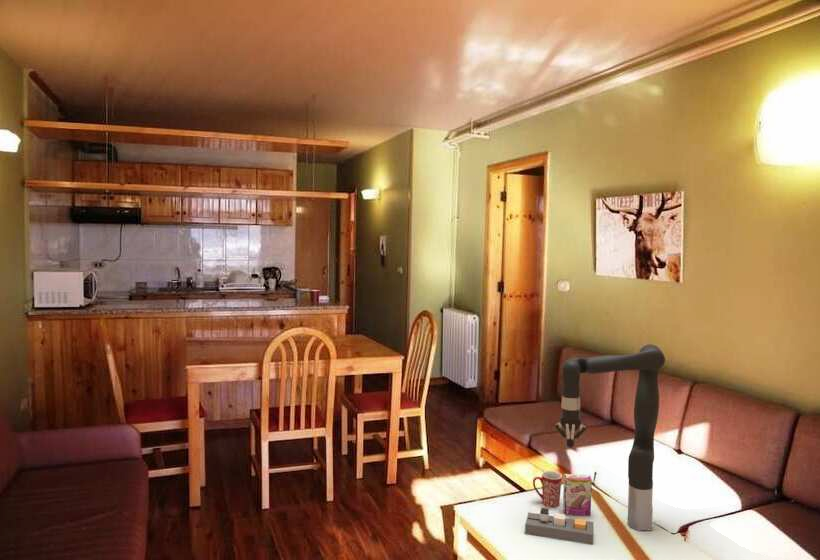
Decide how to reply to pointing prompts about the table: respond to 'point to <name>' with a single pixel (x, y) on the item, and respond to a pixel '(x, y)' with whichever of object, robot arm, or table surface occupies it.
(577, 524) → the amber button
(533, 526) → the control panel
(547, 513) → the slide switch
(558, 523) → the beige button
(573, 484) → the candy bar box
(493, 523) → the table surface
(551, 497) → the mug
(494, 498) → the table surface
